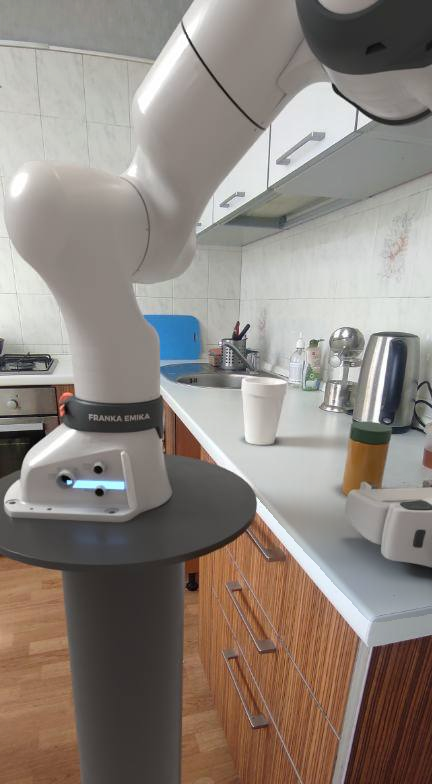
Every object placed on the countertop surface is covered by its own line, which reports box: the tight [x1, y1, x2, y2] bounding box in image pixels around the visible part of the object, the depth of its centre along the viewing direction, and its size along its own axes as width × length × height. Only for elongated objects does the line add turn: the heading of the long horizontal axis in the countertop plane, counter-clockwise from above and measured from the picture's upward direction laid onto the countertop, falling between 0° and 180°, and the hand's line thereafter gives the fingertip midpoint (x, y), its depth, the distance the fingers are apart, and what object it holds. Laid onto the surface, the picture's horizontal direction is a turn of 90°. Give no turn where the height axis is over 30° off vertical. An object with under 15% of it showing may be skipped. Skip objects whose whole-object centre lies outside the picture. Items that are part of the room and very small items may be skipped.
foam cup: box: [240, 376, 288, 446], centre depth 99 cm, size 10×9×13 cm
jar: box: [341, 436, 390, 497], centre depth 74 cm, size 6×6×11 cm
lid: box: [349, 421, 393, 444], centre depth 72 cm, size 6×6×2 cm
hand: (396, 485), depth 65 cm, fingers open, 8 cm apart
